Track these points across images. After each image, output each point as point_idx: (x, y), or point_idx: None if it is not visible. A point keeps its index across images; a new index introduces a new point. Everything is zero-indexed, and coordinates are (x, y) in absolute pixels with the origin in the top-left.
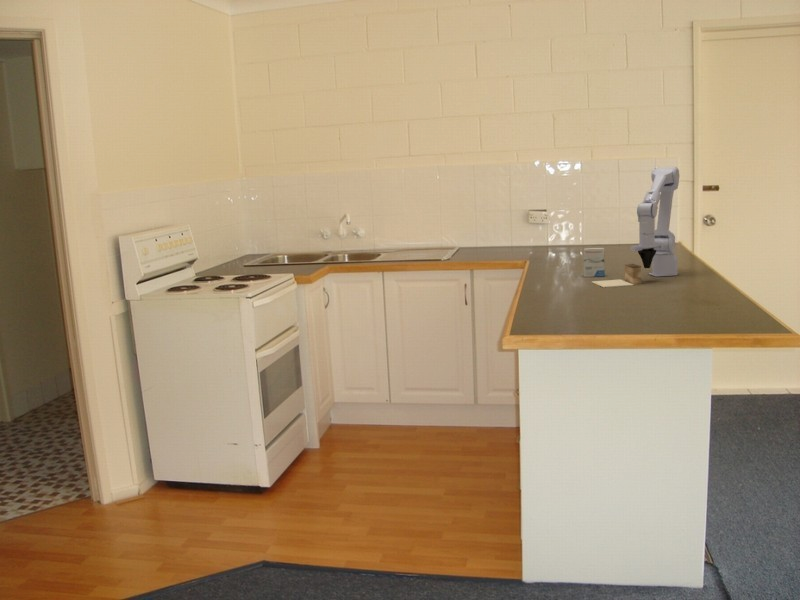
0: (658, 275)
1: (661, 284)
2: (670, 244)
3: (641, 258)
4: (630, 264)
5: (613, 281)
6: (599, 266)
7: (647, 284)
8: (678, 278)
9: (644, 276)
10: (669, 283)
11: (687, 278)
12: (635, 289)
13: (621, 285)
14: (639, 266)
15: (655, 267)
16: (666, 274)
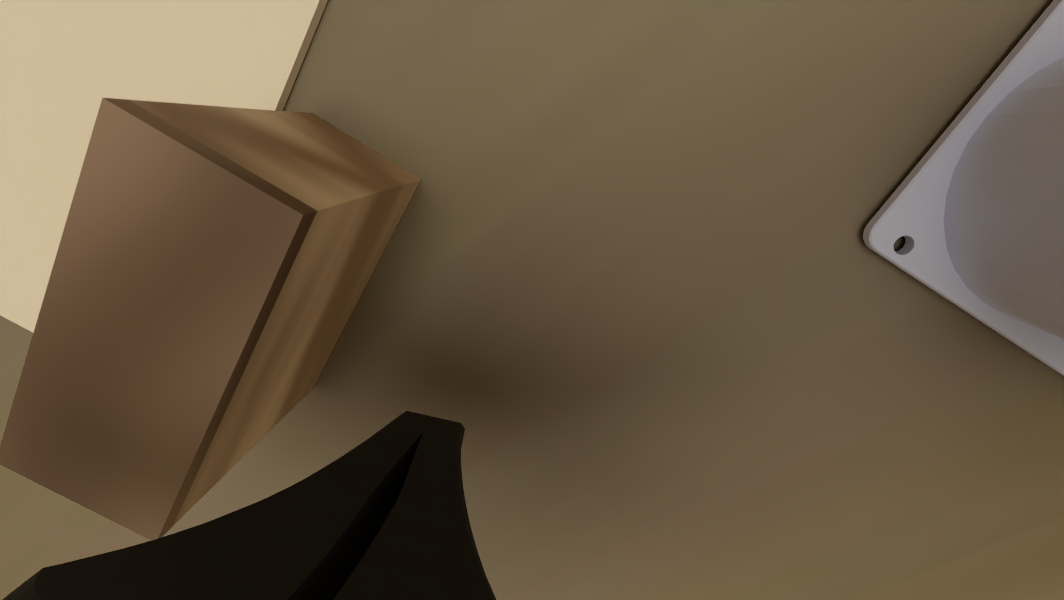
0: (895, 261)
1: None
2: None
3: (274, 499)
4: (167, 242)
5: (125, 40)
6: None
7: (324, 462)
8: (866, 508)
9: (853, 44)
10: (509, 589)
11: (906, 578)
12: (43, 524)
13: (25, 327)
14: (130, 524)
15: (1051, 196)
16: (1009, 317)
